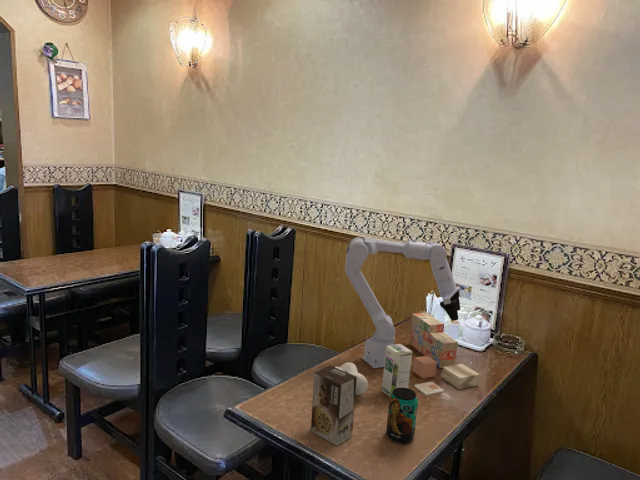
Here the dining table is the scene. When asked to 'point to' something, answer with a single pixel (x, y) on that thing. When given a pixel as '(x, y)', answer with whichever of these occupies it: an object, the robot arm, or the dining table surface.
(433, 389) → the card
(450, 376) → the ash block
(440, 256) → the robot arm
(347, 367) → the white lobed shape
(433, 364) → the terracotta cube
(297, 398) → the dining table surface
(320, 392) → the coffee box
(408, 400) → the beverage can
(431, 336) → the stack of blocks
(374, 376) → the dining table surface
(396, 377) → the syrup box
